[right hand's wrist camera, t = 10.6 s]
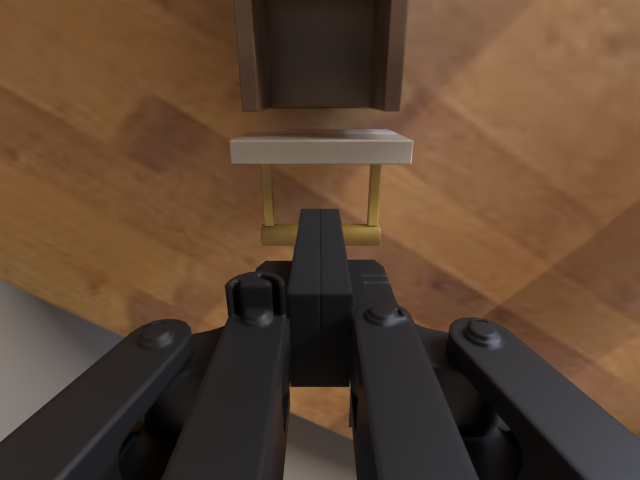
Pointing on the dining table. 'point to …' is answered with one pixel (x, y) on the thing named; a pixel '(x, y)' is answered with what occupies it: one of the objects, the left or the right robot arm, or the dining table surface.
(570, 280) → the dining table surface
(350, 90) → the drawer
